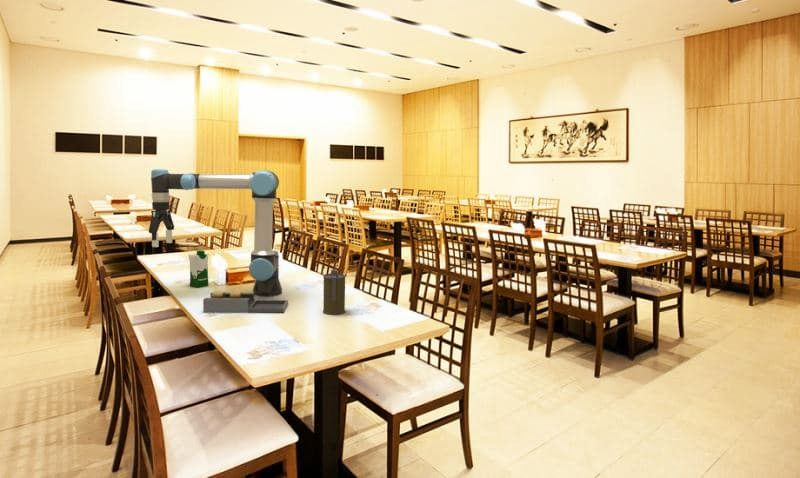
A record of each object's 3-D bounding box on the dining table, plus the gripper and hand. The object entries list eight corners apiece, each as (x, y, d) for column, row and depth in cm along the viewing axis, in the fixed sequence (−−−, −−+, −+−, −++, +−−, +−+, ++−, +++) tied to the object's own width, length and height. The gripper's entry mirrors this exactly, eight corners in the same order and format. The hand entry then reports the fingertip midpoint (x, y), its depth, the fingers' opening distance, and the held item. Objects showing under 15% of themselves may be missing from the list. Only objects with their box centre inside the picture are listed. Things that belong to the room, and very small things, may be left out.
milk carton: (196, 288, 272) (195, 252, 269) (187, 286, 277) (186, 250, 274) (211, 286, 279) (210, 250, 276) (201, 283, 284) (200, 248, 281)
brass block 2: (242, 301, 238) (242, 291, 237) (240, 303, 234) (239, 294, 233) (232, 300, 238) (232, 291, 237) (230, 303, 233) (230, 294, 233)
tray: (288, 304, 245) (288, 300, 245) (283, 313, 230) (283, 308, 230) (254, 304, 244) (254, 299, 244) (247, 312, 229) (247, 308, 229)
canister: (323, 308, 240) (323, 267, 237) (345, 308, 241) (346, 268, 238) (322, 315, 229) (322, 272, 226) (344, 315, 230) (345, 272, 227)
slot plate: (254, 304, 244) (254, 292, 243) (248, 312, 230) (248, 299, 229) (212, 304, 242) (212, 292, 241) (203, 312, 228) (203, 299, 227)
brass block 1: (225, 300, 237) (224, 291, 237) (222, 303, 233) (222, 293, 232) (215, 300, 237) (215, 291, 236) (212, 303, 233) (212, 293, 232)
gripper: (165, 199, 254) (167, 241, 257) (139, 202, 230) (141, 248, 232) (180, 200, 254) (181, 241, 257) (155, 203, 229) (157, 248, 232)
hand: (162, 244), depth 245 cm, fingers open, 13 cm apart
